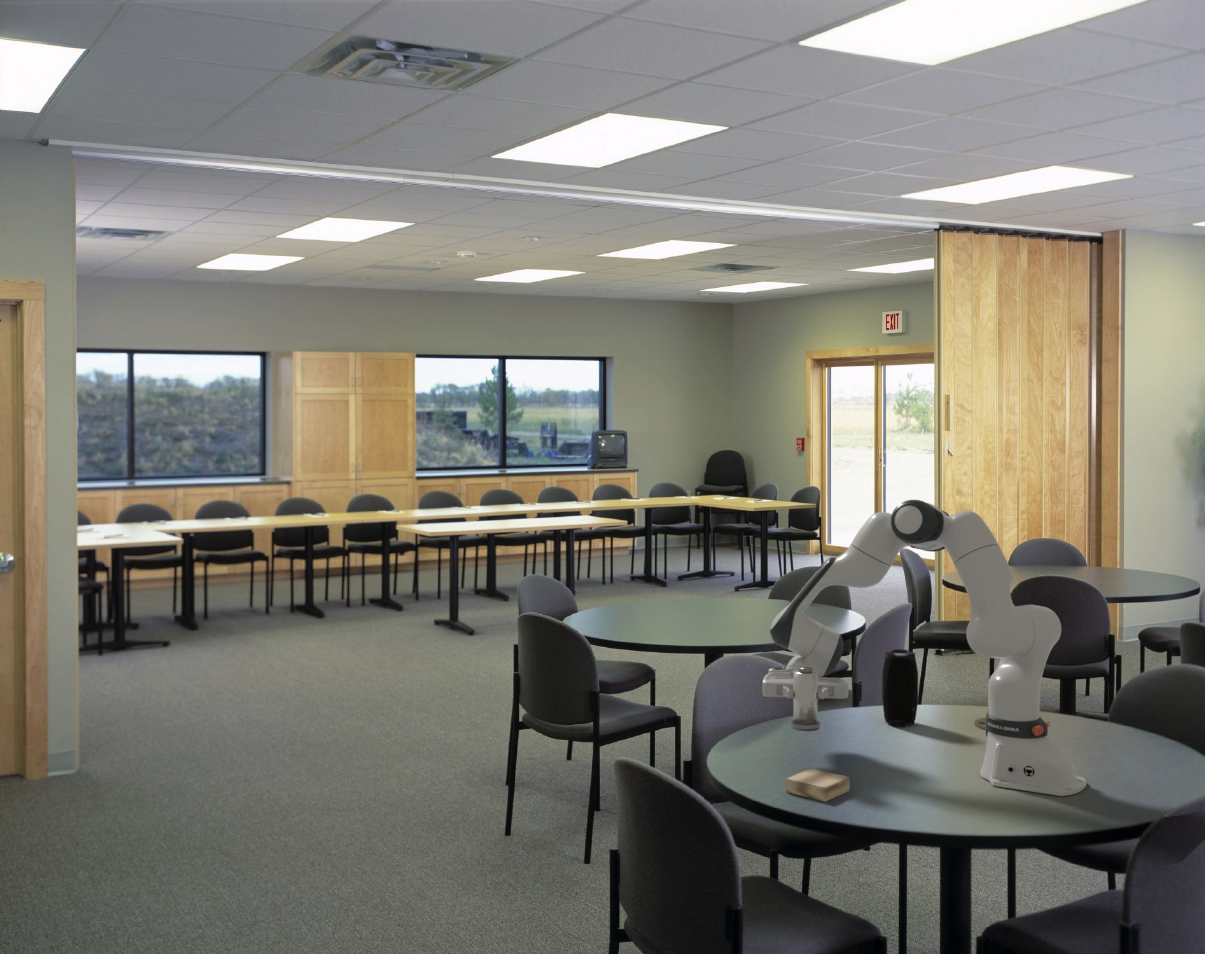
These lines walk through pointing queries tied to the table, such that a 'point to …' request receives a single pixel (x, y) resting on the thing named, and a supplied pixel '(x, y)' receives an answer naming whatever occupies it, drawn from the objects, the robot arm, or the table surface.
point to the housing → (805, 700)
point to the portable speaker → (900, 687)
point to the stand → (818, 784)
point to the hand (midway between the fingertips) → (805, 695)
